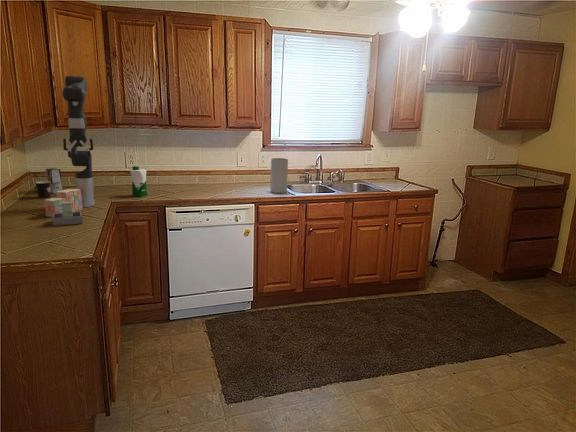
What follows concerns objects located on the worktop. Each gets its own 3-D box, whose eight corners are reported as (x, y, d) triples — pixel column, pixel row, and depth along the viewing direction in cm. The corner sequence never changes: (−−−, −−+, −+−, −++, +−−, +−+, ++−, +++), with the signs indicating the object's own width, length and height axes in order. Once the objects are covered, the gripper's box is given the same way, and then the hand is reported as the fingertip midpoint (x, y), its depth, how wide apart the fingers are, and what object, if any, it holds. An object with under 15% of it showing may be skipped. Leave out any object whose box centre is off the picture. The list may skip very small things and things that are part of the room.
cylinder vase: (267, 192, 321) (268, 159, 315) (274, 189, 332) (275, 157, 326) (283, 194, 317) (284, 160, 310) (289, 191, 328) (290, 158, 322)
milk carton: (138, 194, 298) (137, 165, 293) (149, 195, 295) (148, 166, 291) (130, 196, 290) (128, 167, 285) (141, 197, 287) (139, 168, 282)
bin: (53, 221, 223) (53, 213, 222) (82, 219, 229) (81, 211, 228) (53, 226, 214) (52, 218, 213) (82, 223, 220) (81, 216, 219)
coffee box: (63, 192, 295) (61, 169, 291) (53, 193, 290) (51, 170, 286) (56, 190, 300) (54, 167, 296) (47, 191, 295) (44, 168, 291)
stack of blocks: (55, 217, 231) (53, 195, 228) (45, 216, 232) (43, 194, 229) (82, 209, 251) (81, 188, 248) (73, 208, 252) (72, 187, 249)
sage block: (63, 220, 223) (61, 202, 221) (73, 220, 225) (71, 201, 223) (63, 223, 219) (61, 204, 216) (73, 222, 221) (71, 203, 218)
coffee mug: (47, 195, 283) (45, 180, 281) (54, 197, 279) (53, 182, 277) (29, 198, 273) (27, 182, 271) (36, 200, 269) (35, 184, 267)
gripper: (91, 127, 229) (93, 157, 233) (61, 126, 223) (64, 157, 227) (92, 127, 223) (94, 158, 227) (61, 127, 216) (64, 159, 220)
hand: (79, 158), depth 227 cm, fingers open, 8 cm apart
